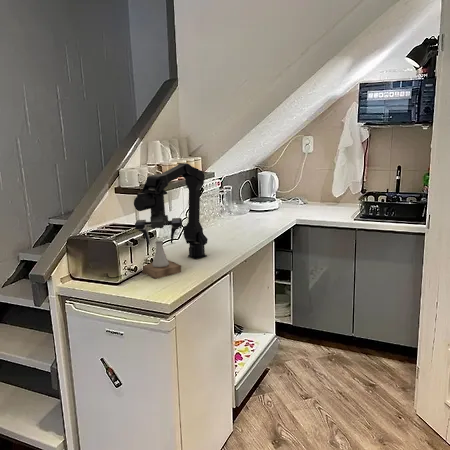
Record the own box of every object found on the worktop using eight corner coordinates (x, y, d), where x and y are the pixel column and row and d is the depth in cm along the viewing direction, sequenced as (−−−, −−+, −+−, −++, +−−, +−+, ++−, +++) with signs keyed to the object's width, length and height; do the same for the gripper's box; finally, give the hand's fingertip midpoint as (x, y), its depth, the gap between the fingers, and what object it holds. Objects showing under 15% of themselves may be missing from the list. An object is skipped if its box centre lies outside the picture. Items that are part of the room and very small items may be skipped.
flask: (170, 262, 192) (168, 239, 190) (168, 267, 185) (167, 243, 183) (153, 263, 192) (151, 240, 190) (150, 268, 185) (149, 244, 183)
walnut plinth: (166, 265, 197) (165, 259, 197) (181, 272, 188) (180, 265, 187) (141, 272, 190) (140, 265, 189) (155, 279, 181) (155, 271, 180)
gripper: (131, 211, 176) (135, 250, 179) (180, 209, 177) (182, 247, 180) (135, 206, 187) (138, 243, 190) (180, 204, 188) (183, 240, 191)
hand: (160, 243), depth 188 cm, fingers open, 9 cm apart
